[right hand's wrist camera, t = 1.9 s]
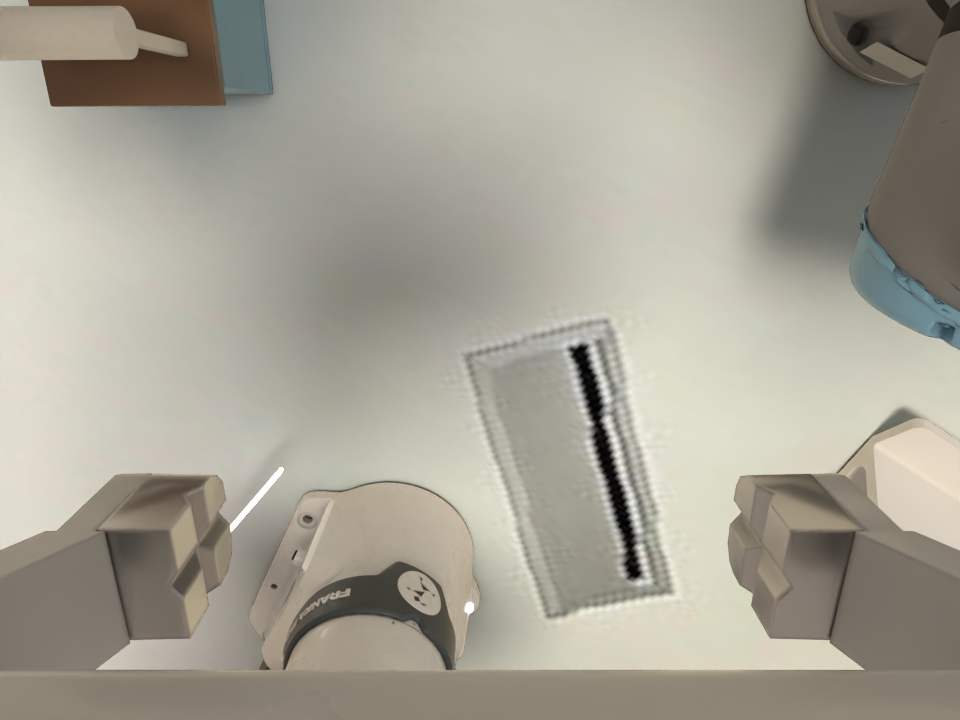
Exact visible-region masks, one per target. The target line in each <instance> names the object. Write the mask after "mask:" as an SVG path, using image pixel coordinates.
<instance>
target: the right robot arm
mask: <svg viewBox="0 0 960 720" xmlns="http://www.w3.org/2000/svg"><path fill="white" fill-rule="evenodd" d="M283 470H284V469H283V468H282V467H280V468H279V469H278V471H277V472H276V473H275V474H274V475H273V476H272V478H271V479H270V480H269V481H268V482H267V483H266V485H265V486H264V487H263V488H262V489H261V490H260V492H259V493H258V494H257V495H256V496H255V497H254V499H253V500H252V501H251V502H250V503H249V504H248V506H247V507H246V508H245V509H244V510H243V511H242V513H241V514H240V515H239V516H238V517H237V518H236V520H235V521H234V522H233V523H232V524H231V526H230V524H229V523H228V522H227V521H226V520H225V519H224V518H223V517H222V516H221V515H220V513H219V510H220V509H221V507H222V506H223V504H224V503H225V501H226V496H225V491H224V486H223V481H222V480H221V479H220V478H219V477H218V476H217V475H194V474H151V473H136V474H119V475H115V476H114V477H113V478H112V479H111V480H110V481H109V482H108V483H107V484H106V485H104V486H103V487H102V488H101V489H100V490H99V491H98V492H97V493H96V494H95V495H94V496H93V497H92V498H91V499H90V500H89V501H88V502H87V503H86V504H85V505H83V506H82V507H81V508H80V509H79V510H78V511H77V512H76V513H75V514H74V515H73V516H72V517H71V518H70V519H69V520H68V521H67V522H66V523H65V524H64V525H62V526H61V527H60V528H59V529H58V530H57V531H45V532H43V533H40V534H38V535H36V536H33V537H31V538H28V539H26V540H24V541H21V542H19V543H17V544H14V545H12V546H10V547H7V548H5V549H2V550H0V720H960V550H957V549H955V548H953V547H950V546H948V545H946V544H943V543H941V542H939V541H936V540H934V539H931V538H929V537H927V536H924V535H922V534H920V533H917V532H915V531H903V530H902V529H901V528H900V527H899V526H898V525H897V524H895V523H894V522H893V521H892V520H891V519H890V518H889V517H888V516H887V515H886V514H885V513H884V512H883V511H882V510H881V509H880V508H879V507H878V506H877V505H876V504H875V503H873V502H872V501H871V500H870V499H869V498H868V497H867V496H866V495H865V494H864V493H863V492H862V491H861V490H860V489H859V488H858V487H857V486H856V485H855V484H854V483H853V482H851V481H850V480H849V479H848V478H847V477H846V476H845V475H842V474H839V473H824V474H784V475H747V476H740V478H739V481H738V483H737V485H736V490H735V496H734V501H735V503H736V504H737V506H738V507H739V509H740V510H741V513H740V515H739V516H738V517H737V518H736V519H735V520H734V521H733V522H732V523H731V524H730V529H729V537H728V551H729V561H730V564H731V567H732V570H733V573H734V575H735V577H736V579H737V581H738V583H739V585H741V586H742V587H744V588H745V589H747V590H748V591H750V592H752V593H753V598H752V604H751V606H752V608H753V610H754V611H755V613H756V615H757V617H758V618H759V620H760V622H761V623H762V625H763V627H764V629H765V630H766V632H767V634H768V636H769V637H770V638H776V639H813V640H830V643H831V644H832V645H833V646H835V647H836V648H837V649H839V650H840V651H841V652H843V653H844V654H845V655H847V656H848V657H849V658H850V659H852V660H853V661H854V662H856V663H857V664H858V665H860V666H861V667H862V668H864V669H865V670H456V659H460V657H461V656H462V654H463V651H464V646H465V639H466V632H467V625H468V618H469V616H470V615H471V614H473V613H474V612H475V611H476V610H477V609H478V607H479V604H480V591H479V588H478V586H477V583H476V581H475V579H474V577H473V572H472V566H473V544H472V540H471V536H470V533H469V530H468V528H467V526H466V524H465V523H464V521H463V519H462V518H461V517H460V515H459V514H458V513H457V512H456V511H455V510H454V509H453V508H452V507H451V506H450V505H449V504H448V503H447V502H445V501H444V500H443V499H441V498H440V497H438V496H436V495H435V494H433V493H431V492H429V491H427V490H424V489H422V488H419V487H416V486H412V485H407V484H401V483H375V484H369V485H365V486H361V487H358V488H355V489H351V490H348V491H344V492H328V491H313V492H309V493H306V494H305V495H304V496H303V497H302V498H301V500H300V502H299V504H298V506H297V509H296V511H295V513H294V515H293V517H292V520H291V522H290V524H289V526H288V529H287V531H286V533H285V535H284V537H283V540H282V542H281V544H280V546H279V548H278V551H277V553H276V555H275V557H274V559H273V562H272V564H271V566H270V568H269V570H268V573H267V575H266V577H265V579H264V582H263V584H262V586H261V588H260V590H259V593H258V595H257V597H256V599H255V602H254V604H253V606H252V609H251V612H250V615H249V621H250V623H251V625H252V626H253V628H254V629H255V631H256V632H257V634H258V635H259V636H260V637H261V638H262V639H263V640H264V644H263V647H262V650H261V653H262V657H263V662H262V664H261V667H260V669H259V670H95V669H97V668H98V667H99V666H101V665H102V664H103V663H104V662H106V661H107V660H108V659H110V658H111V657H112V656H114V655H115V654H116V653H118V652H119V651H120V650H122V649H123V648H124V647H125V646H127V645H128V644H129V643H130V640H146V639H182V638H191V636H192V634H193V632H194V631H195V629H196V627H197V625H198V624H199V622H200V620H201V618H202V617H203V615H204V613H205V611H206V609H207V608H208V606H209V604H208V598H207V593H208V592H210V591H212V590H213V589H215V588H216V587H218V586H219V585H221V583H222V581H223V579H224V577H225V575H226V573H227V571H228V567H229V563H230V558H231V554H232V535H231V532H232V531H233V529H234V528H235V527H236V526H237V525H238V524H239V522H240V521H241V520H242V519H243V518H244V517H245V515H246V514H247V513H248V512H249V511H250V510H251V509H252V507H253V506H254V505H255V504H256V503H257V502H258V500H259V499H260V498H261V497H262V496H263V495H264V493H265V492H266V491H267V490H268V489H269V488H270V486H271V485H272V484H273V483H274V482H275V481H276V479H277V478H278V477H279V476H280V475H281V473H282V472H283ZM305 515H310V516H311V517H312V519H308V518H307V517H306V516H305Z"/></svg>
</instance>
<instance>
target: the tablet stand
mask: <svg viewBox="0 0 960 720" xmlns="http://www.w3.org/2000/svg"><path fill="white" fill-rule="evenodd" d="M839 474H842V475H845V476H846V477H847V478H848V479H849V480H850V481H851V482H853V483H854V484H855V485H856V486H857V487H858V488H859V489H860V490H861V491H862V492H863V493H864V494H865V495H866V496H867V497H868V498H869V499H870V500H871V501H872V502H873V503H875V504H876V505H877V506H878V507H879V508H880V509H881V510H882V511H883V512H884V513H885V514H886V515H887V516H888V517H889V518H890V519H891V520H892V521H893V522H894V523H895V524H897V525H898V526H899V527H900V528H901V529H902V530H903V531H915V532H917V533H920V534H922V535H924V536H927V537H929V538H931V539H934V540H936V541H939V542H941V543H943V544H946V545H948V546H950V547H953V548H955V549H957V550H960V441H958V440H957V439H955V438H954V437H952V436H951V435H949V434H948V433H946V432H944V431H943V430H941V429H940V428H938V427H937V426H935V425H934V424H932V423H931V422H929V421H928V420H926V419H922V418H915V419H911V420H908V421H906V422H904V423H902V424H899V425H897V426H895V427H892V428H890V429H888V430H885V431H883V432H881V433H879V434H876V435H874V436H872V437H871V438H870V439H869V440H868V442H867V443H866V444H865V445H864V446H863V447H862V448H861V449H860V450H859V451H858V452H857V454H856V455H855V456H854V457H853V458H852V459H851V460H850V461H849V462H848V463H847V464H846V466H845V467H844V468H843V469H842V470H841V471H840V472H839Z"/></svg>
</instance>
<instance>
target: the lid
mask: <svg viewBox="0 0 960 720" xmlns="http://www.w3.org/2000/svg"><path fill="white" fill-rule="evenodd" d="M28 2H29V6H3V7H0V60H41V62H42V67H43V71H44V76H45V80H46V85H47V90H48V94H49V99H50V103H51V106H54V107H96V106H225V105H226V100H225V92H224V85H223V77H222V69H221V62H220V54H219V46H218V39H217V31H216V23H215V16H214V8H213V0H28Z"/></svg>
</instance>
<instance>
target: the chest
mask: <svg viewBox="0 0 960 720" xmlns="http://www.w3.org/2000/svg"><path fill="white" fill-rule="evenodd" d="M213 8H214V16H215V23H216V31H217V39H218V46H219V54H220V62H221V69H222V77H223V85H224V92H225V95H236V94H273V87H272V78H271V68H270V59H269V50H268V40H267V31H266V22H265V12H264V3H263V0H213Z"/></svg>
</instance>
